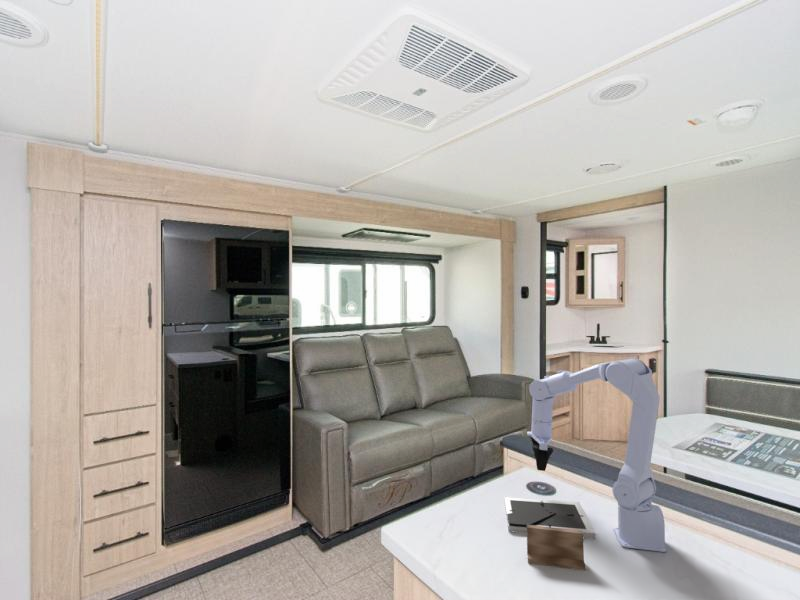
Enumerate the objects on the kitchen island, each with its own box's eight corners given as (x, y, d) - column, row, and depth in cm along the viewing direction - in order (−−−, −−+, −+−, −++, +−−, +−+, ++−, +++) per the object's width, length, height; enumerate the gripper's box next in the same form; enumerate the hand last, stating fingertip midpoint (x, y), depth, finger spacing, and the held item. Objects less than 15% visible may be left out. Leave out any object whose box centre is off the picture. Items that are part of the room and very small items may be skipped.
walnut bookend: (582, 561, 92) (582, 530, 92) (585, 570, 89) (585, 538, 89) (527, 554, 95) (526, 524, 95) (528, 562, 92) (527, 531, 92)
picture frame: (508, 534, 105) (595, 541, 101) (508, 523, 105) (595, 530, 101) (504, 504, 120) (579, 509, 117) (504, 494, 120) (579, 499, 117)
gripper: (526, 410, 129) (524, 452, 130) (529, 426, 115) (527, 473, 116) (549, 412, 127) (547, 455, 128) (556, 429, 113) (553, 477, 114)
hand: (539, 464), depth 122 cm, fingers open, 7 cm apart
